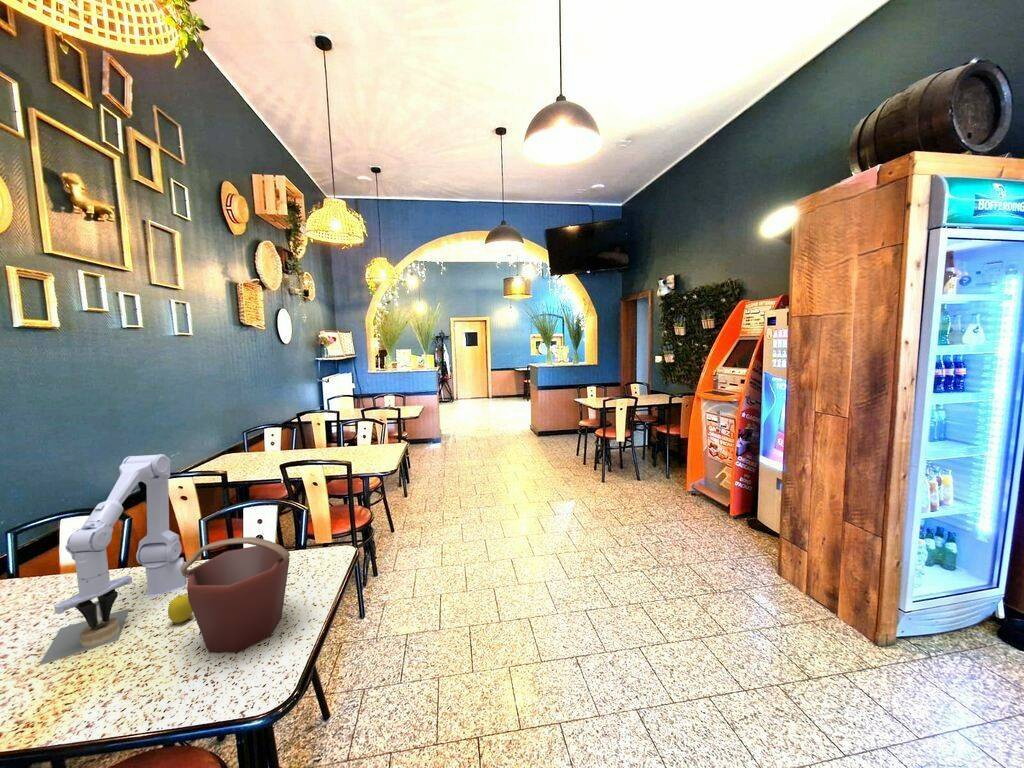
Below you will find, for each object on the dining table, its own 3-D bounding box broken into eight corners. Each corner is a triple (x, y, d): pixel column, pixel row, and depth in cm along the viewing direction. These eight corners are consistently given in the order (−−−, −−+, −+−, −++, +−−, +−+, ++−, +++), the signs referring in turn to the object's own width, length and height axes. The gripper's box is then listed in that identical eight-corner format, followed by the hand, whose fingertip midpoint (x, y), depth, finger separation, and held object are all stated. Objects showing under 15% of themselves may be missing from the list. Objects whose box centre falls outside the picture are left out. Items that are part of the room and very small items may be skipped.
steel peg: (103, 628, 109) (99, 599, 109) (107, 630, 108) (103, 601, 108) (93, 633, 107) (89, 604, 107) (96, 635, 107) (93, 605, 106)
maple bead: (121, 624, 113) (120, 614, 113) (116, 638, 107) (115, 627, 107) (85, 635, 109) (84, 625, 109) (78, 650, 103) (76, 639, 103)
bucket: (164, 661, 99) (154, 561, 97) (231, 604, 121) (223, 522, 119) (263, 661, 98) (254, 560, 96) (311, 604, 120) (305, 521, 118)
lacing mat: (129, 610, 120) (129, 608, 120) (118, 642, 107) (118, 640, 107) (60, 630, 112) (60, 628, 112) (39, 667, 99) (38, 665, 99)
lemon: (199, 619, 115) (196, 591, 115) (176, 631, 110) (173, 603, 110) (187, 614, 118) (185, 587, 117) (165, 626, 112) (162, 598, 112)
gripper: (120, 558, 115) (125, 604, 116) (45, 585, 101) (52, 637, 103) (134, 562, 112) (139, 609, 113) (59, 591, 99) (66, 644, 100)
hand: (99, 623), depth 108 cm, fingers closed on steel peg, 2 cm apart
